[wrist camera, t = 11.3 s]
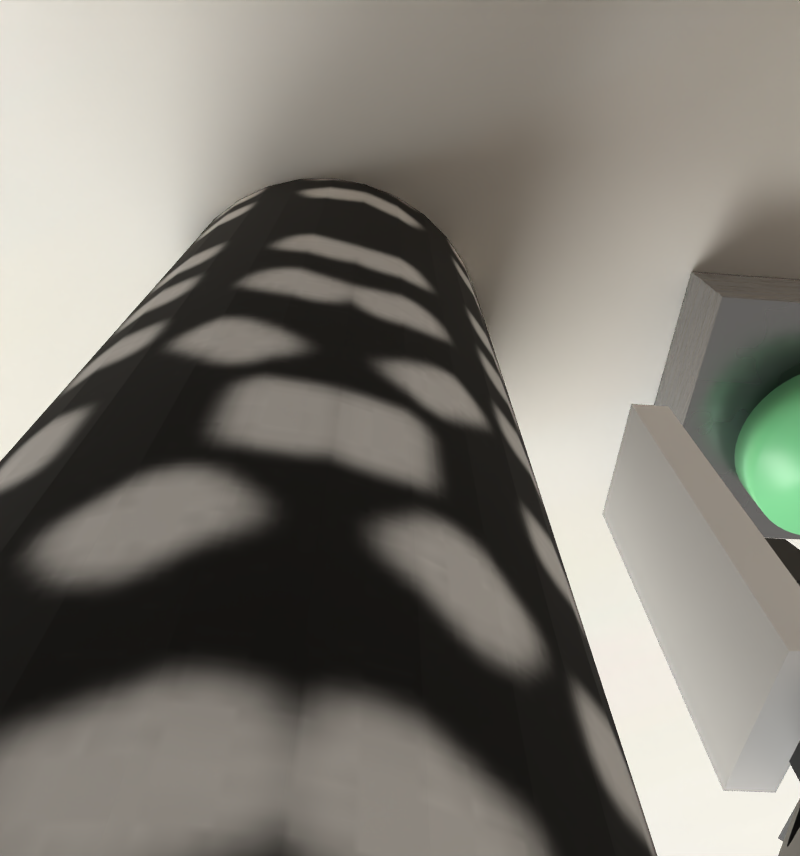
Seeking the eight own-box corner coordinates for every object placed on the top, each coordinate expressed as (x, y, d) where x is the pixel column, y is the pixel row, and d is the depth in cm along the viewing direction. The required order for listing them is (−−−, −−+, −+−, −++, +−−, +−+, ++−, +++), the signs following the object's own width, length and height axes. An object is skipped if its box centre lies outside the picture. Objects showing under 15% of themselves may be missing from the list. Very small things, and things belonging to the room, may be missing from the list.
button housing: (629, 491, 22) (650, 531, 21) (691, 272, 19) (722, 297, 17) (847, 504, 23) (885, 543, 21) (946, 290, 19) (1001, 317, 18)
